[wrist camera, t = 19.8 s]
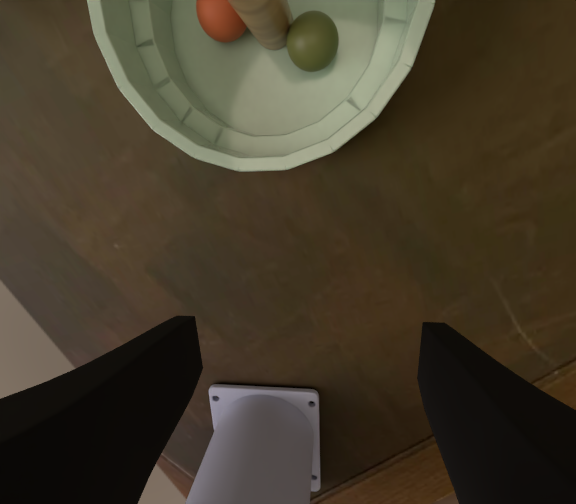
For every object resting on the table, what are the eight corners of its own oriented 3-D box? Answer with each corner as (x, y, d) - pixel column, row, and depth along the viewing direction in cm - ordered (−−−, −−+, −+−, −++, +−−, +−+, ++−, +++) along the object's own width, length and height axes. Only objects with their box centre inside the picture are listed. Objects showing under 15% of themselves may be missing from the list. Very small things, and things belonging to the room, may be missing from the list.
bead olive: (297, 88, 16) (332, 51, 14) (267, 42, 15) (299, -2, 14) (323, 77, 17) (357, 42, 15) (296, 35, 17) (327, -6, 15)
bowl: (399, 159, 18) (422, 165, 13) (170, 167, 20) (120, 176, 15) (418, -166, 14) (461, -320, 9) (127, -119, 16) (41, -229, 11)
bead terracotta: (243, 55, 17) (202, 33, 17) (263, 4, 16) (219, -21, 16) (226, 46, 15) (179, 20, 15) (247, -15, 14) (197, -43, 14)
